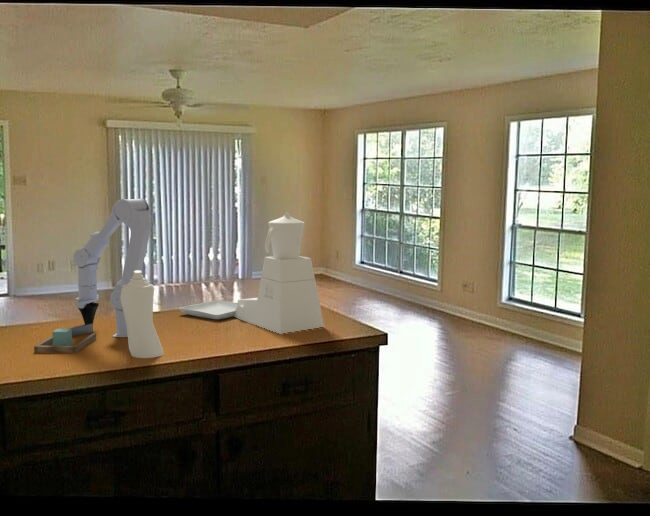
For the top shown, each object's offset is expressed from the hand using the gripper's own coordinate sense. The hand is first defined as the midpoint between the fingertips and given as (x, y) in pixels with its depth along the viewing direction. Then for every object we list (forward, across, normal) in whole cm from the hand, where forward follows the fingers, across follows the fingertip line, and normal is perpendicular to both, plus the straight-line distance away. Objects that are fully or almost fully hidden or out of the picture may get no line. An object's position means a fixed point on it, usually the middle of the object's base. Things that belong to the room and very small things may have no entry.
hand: (89, 325), depth 210 cm
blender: (+2, -14, +61) cm, 63 cm away
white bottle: (+2, +31, +27) cm, 41 cm away
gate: (+2, +12, -5) cm, 13 cm away
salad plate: (+2, -29, +38) cm, 48 cm away
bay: (+2, +21, +1) cm, 21 cm away
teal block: (+2, +23, +1) cm, 23 cm away
